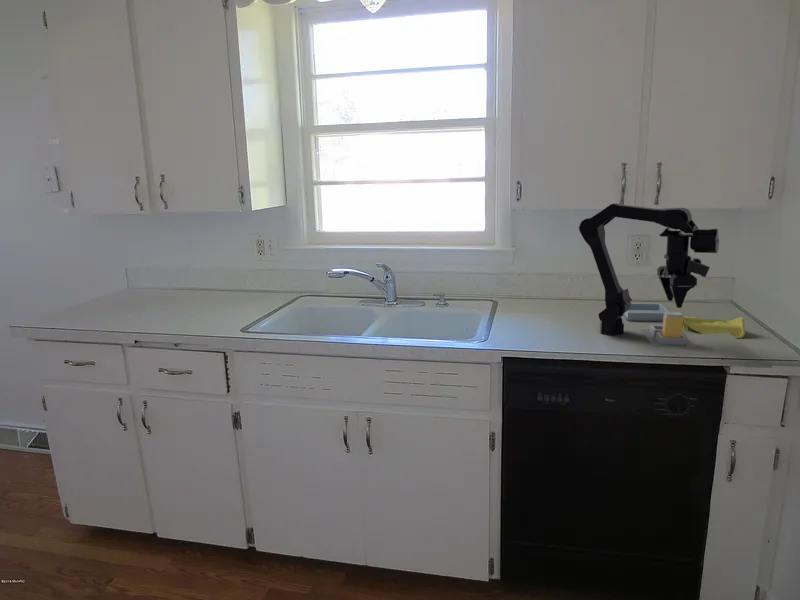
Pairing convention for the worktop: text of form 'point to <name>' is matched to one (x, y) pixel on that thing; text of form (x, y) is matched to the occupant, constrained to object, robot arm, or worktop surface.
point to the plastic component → (715, 325)
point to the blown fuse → (672, 325)
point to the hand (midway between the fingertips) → (674, 304)
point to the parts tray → (645, 312)
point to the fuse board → (665, 338)
